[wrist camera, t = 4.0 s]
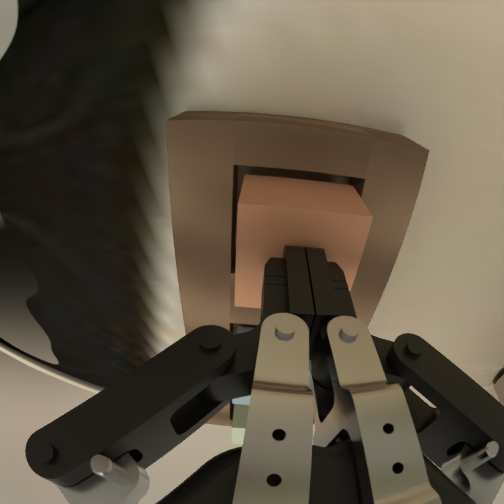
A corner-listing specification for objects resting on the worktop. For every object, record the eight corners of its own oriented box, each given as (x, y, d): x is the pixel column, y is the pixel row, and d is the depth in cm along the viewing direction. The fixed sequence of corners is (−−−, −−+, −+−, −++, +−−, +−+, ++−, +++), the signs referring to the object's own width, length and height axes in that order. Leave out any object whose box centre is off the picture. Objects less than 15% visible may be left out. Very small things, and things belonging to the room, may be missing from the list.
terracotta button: (332, 271, 16) (342, 313, 13) (240, 264, 16) (234, 306, 13) (352, 185, 13) (373, 217, 10) (245, 174, 13) (237, 203, 10)
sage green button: (282, 419, 27) (282, 446, 24) (234, 416, 27) (231, 443, 24) (290, 399, 24) (290, 430, 21) (235, 396, 24) (231, 427, 22)
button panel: (308, 407, 31) (309, 429, 28) (206, 401, 31) (203, 423, 28) (404, 136, 14) (429, 150, 11) (185, 111, 14) (166, 120, 11)
